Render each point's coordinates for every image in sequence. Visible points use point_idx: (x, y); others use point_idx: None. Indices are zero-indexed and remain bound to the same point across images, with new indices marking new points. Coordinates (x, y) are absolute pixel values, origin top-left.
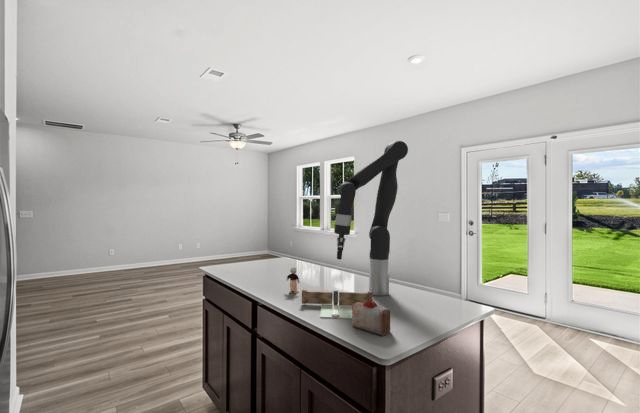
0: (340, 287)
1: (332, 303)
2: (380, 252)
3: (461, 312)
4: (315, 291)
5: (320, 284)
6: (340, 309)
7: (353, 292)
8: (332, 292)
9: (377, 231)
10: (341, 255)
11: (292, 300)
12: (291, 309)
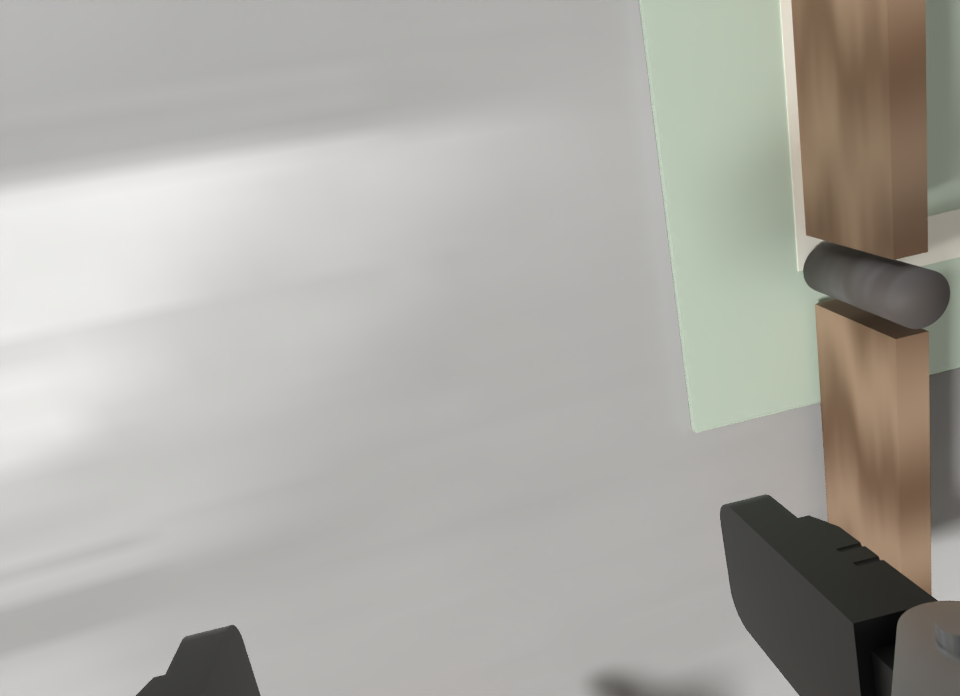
0: (44, 381)
1: (781, 307)
2: None
3: None
4: (903, 522)
5: (19, 645)
6: (956, 184)
7: (891, 62)
8: (921, 333)
9: None
10: (823, 550)
11: (724, 674)
12: (957, 591)
